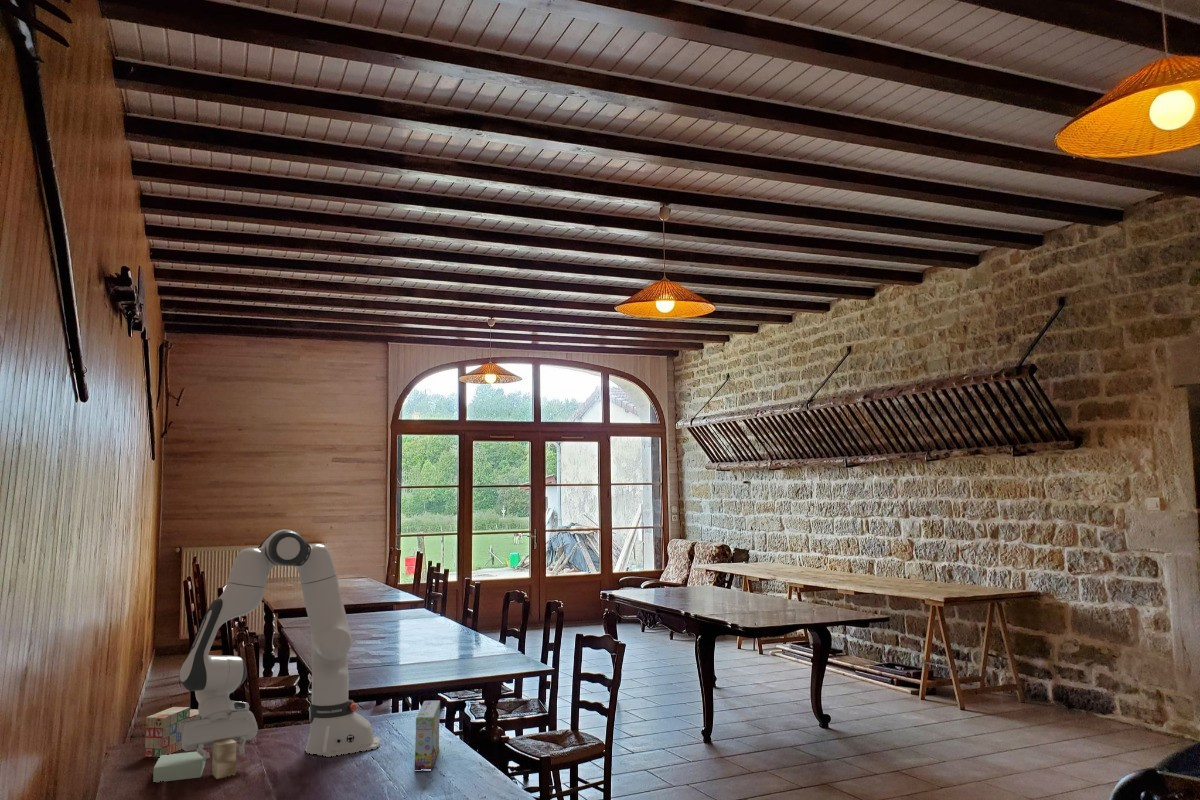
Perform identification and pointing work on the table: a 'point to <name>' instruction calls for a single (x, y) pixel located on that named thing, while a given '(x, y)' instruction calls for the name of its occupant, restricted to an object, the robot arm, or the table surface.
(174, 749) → the stack of blocks
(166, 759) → the plinth
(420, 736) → the snack box
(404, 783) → the table surface
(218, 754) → the maple block
